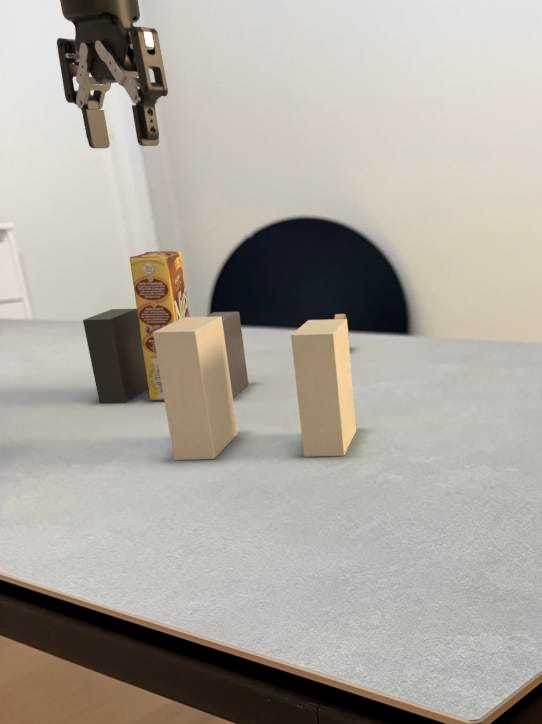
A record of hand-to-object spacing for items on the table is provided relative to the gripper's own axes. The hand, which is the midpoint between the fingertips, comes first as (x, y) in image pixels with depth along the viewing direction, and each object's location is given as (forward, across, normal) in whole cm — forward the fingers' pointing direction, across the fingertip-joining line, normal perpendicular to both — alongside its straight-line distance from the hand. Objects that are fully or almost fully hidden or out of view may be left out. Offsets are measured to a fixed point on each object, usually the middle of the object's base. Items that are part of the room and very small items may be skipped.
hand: (124, 147), depth 102 cm
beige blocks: (+26, +31, -12) cm, 42 cm away
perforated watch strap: (+26, +1, +30) cm, 40 cm away
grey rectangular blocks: (+26, +3, -1) cm, 26 cm away
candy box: (+26, +3, -1) cm, 26 cm away
